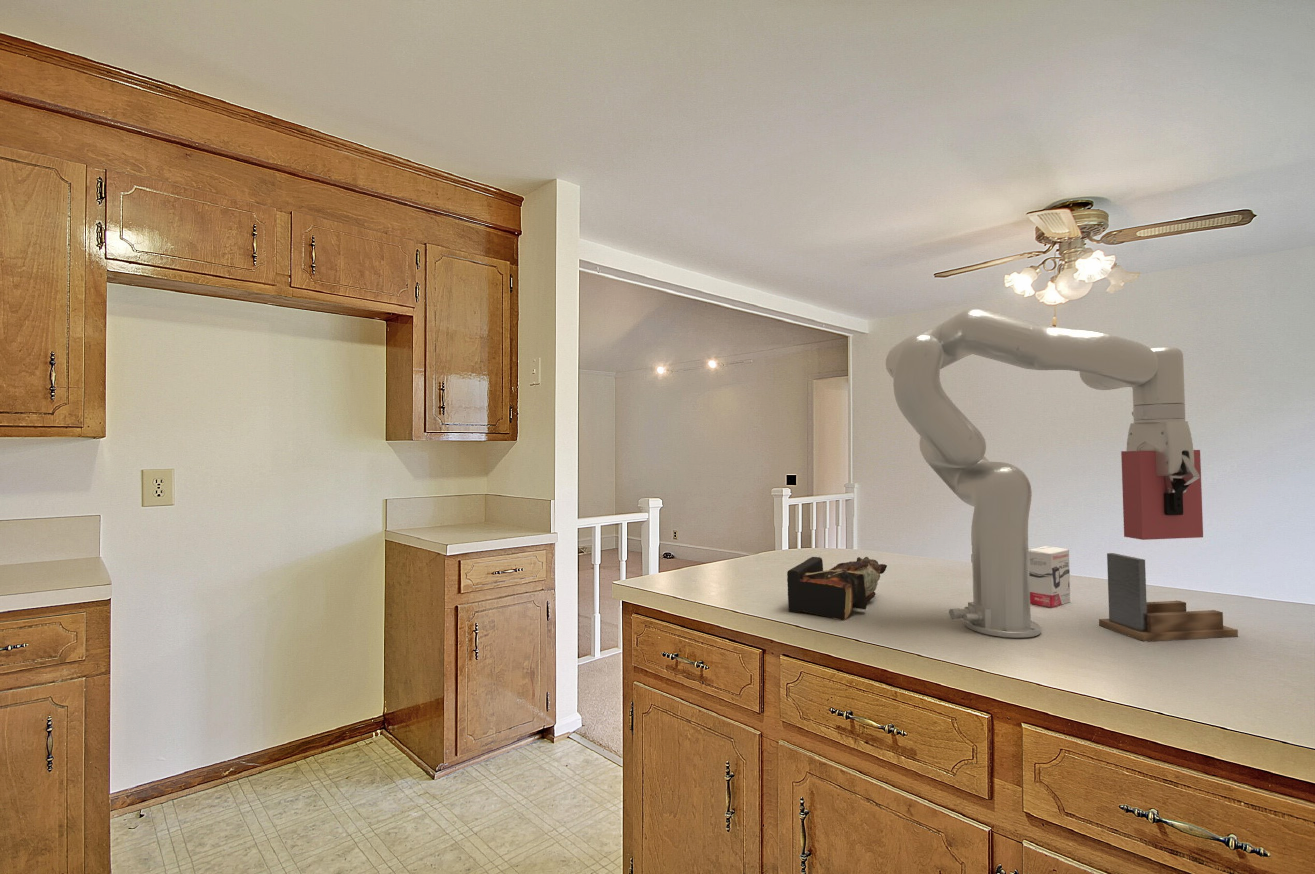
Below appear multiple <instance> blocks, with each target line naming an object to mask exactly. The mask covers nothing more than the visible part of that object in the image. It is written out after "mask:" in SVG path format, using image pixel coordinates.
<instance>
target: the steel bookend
mask: <svg viewBox="0 0 1315 874" xmlns="http://www.w3.org/2000/svg"><path fill="white" fill-rule="evenodd" d="M1106 560H1107V561H1106V563H1107V564H1106V565H1107V591H1108V619H1109V621H1110V622H1113V623H1116V624H1119V625H1122V626H1125V627H1128V628H1131V629H1134V630H1137V631H1140V632H1147V602H1148V601H1147V579H1146V578H1147V577H1146V575H1147V574H1146V559H1143V558H1139V557H1136V556H1130V555H1129V556H1128V555H1124V554H1119V553H1114V552H1107V553H1106Z"/></svg>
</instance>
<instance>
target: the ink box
mask: <svg viewBox="0 0 1315 874" xmlns="http://www.w3.org/2000/svg"><path fill="white" fill-rule="evenodd" d="M1070 570H1071V569H1070V549H1067V548H1063V547H1062V548H1061V547H1056V546H1049V545H1043V546H1040V547H1034V548H1031V549H1030V548H1029V579H1030V605H1035V606H1042V607H1047V608H1053V609H1054V608H1055V607H1058V606H1061V605H1065V604H1067V603H1071V576H1070V575H1071V573H1070Z"/></svg>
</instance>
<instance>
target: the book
mask: <svg viewBox="0 0 1315 874" xmlns="http://www.w3.org/2000/svg"><path fill="white" fill-rule="evenodd" d="M1193 451H1194V467H1195V469H1196V471H1197V472H1198V474H1199V475H1200V477H1199V479H1197V480H1196V481H1194V482H1192V483H1191V484H1190V485H1189V486H1188V487H1187V488H1186V492H1185V493H1183V515H1165V511H1164V493H1168V492H1167V490H1166V485H1165V480H1164V476H1158V475H1157V474H1156V451H1126V450H1125V451H1124V450H1121V451H1120V453H1121V454H1120V456H1121V483H1122V489H1121V490H1122V511H1123V513H1122V514H1123V515H1122V516H1123V517H1122V518H1123V537H1124V538H1129V539H1136V540H1142V541H1146V540H1148V541H1149V540H1150V541H1151V540H1168V539H1169V540H1171V539H1194V538H1196V539H1197V538H1199V539H1200V538H1204V520H1203V517H1204V516H1203V495H1202V494H1203V492H1202V468H1201V467H1202V466H1201V465H1202V463H1201V460H1202V459H1201V449H1193ZM1173 475H1176V473H1174V474H1173ZM1173 482H1174V483H1175V482H1176V479H1173Z"/></svg>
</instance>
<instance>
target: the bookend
mask: <svg viewBox="0 0 1315 874" xmlns="http://www.w3.org/2000/svg"><path fill="white" fill-rule="evenodd" d="M887 567H888V565H887V564H885V563H880V564H879V562H878V561H877V560H876V559H873V558H872V559H871V558H869V557H868V556H865V557H864V558H861V557H860V556H858V557H857V558H856V560H855V561H854V560H853V561H847V562H840V563H837V564H836V565H835V566H833V567H832V568H830V569H828V570H827V569H826V570H824V564H823V558H822V557H821V556H811V557H810V558H807V559H806V560H804V561H803V562H801V563H800V564H798V565H795V566H794V567H792V568H790V569H789V570H787V573H786V575H787V576H786V577H787V579H786V582H787V600H788V601H787V603H788V612H789V613H798V614H801V613H808V614H811V615H812V614H813V615H817V616H821V617H826V618H831V619H833V620H838V621H839V620H840V621H845V620H847V618H848V617H850V616H851V615H852V611H853V608H855V609H860V610H867V603H868V602H871V600H872V599H874V598H875V597H876V595H877V593H876V590H877V587H878V581H879V580H881V579H880V578H881V575H882V574H884V573H885V571H886V570H887Z"/></svg>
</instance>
